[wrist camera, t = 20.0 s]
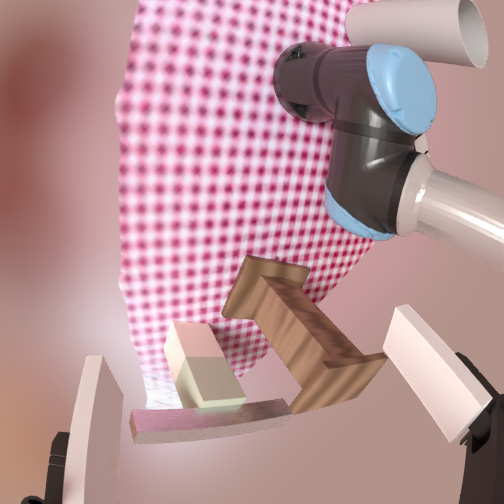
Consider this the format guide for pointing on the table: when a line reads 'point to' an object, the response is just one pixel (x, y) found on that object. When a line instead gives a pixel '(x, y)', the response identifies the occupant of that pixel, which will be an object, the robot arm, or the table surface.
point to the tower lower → (189, 344)
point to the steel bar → (206, 422)
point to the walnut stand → (300, 333)
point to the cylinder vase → (423, 29)
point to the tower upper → (208, 383)
